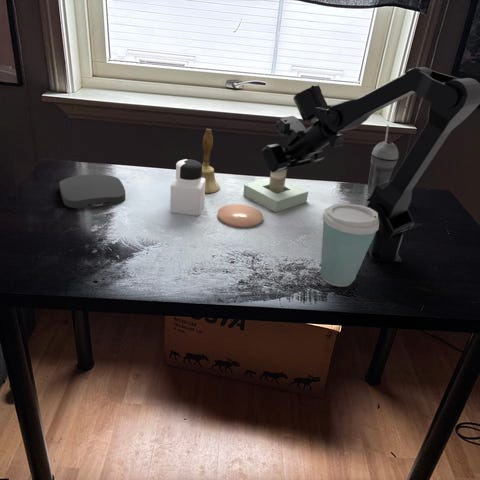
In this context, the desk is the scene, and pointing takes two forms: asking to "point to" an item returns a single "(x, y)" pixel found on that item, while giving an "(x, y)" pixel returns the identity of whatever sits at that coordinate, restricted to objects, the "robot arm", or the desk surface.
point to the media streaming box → (92, 191)
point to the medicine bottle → (188, 188)
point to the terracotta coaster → (240, 215)
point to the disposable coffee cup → (346, 241)
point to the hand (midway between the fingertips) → (275, 168)
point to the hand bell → (208, 171)
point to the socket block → (275, 195)
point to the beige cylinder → (277, 181)
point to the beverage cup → (382, 163)
